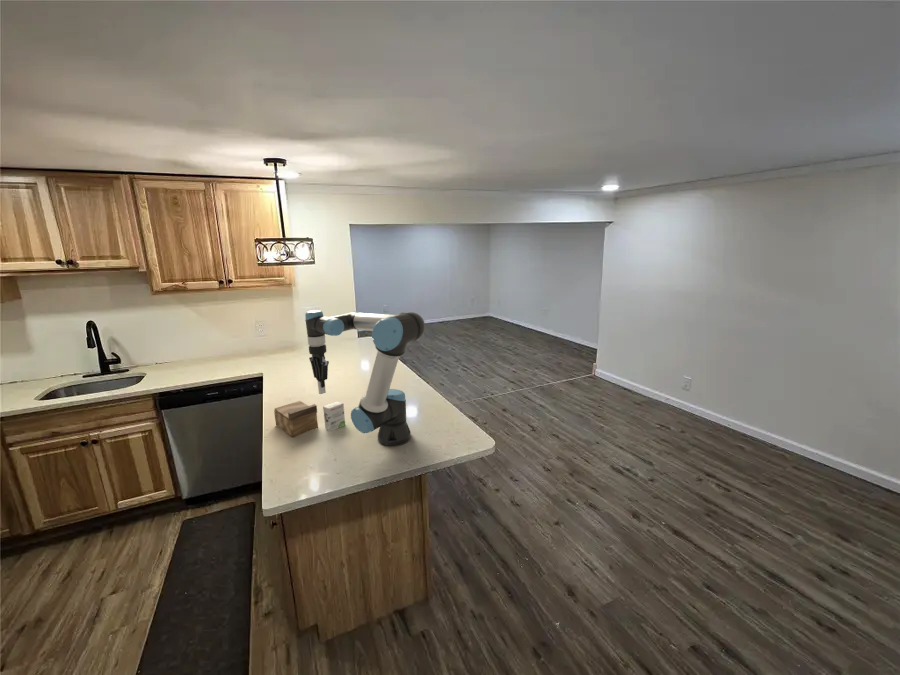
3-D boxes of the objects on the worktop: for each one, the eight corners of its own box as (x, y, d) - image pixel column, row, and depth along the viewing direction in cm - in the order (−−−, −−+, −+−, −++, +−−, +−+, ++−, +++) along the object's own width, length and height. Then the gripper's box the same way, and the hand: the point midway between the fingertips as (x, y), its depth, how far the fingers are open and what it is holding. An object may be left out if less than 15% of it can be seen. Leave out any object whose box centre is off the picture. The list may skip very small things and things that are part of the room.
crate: (318, 427, 195) (316, 412, 193) (292, 437, 186) (290, 421, 184) (301, 416, 207) (299, 402, 205) (275, 425, 198) (274, 410, 196)
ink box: (339, 422, 201) (338, 400, 198) (345, 425, 198) (343, 403, 195) (324, 428, 195) (322, 405, 192) (330, 431, 191) (328, 408, 188)
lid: (317, 412, 192) (316, 405, 191) (290, 421, 183) (290, 414, 182) (300, 402, 205) (299, 395, 204) (274, 410, 196) (273, 402, 195)
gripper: (332, 345, 180) (337, 394, 186) (316, 340, 188) (321, 387, 194) (317, 348, 175) (322, 399, 180) (302, 344, 183) (307, 392, 189)
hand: (322, 393), depth 187 cm, fingers closed
